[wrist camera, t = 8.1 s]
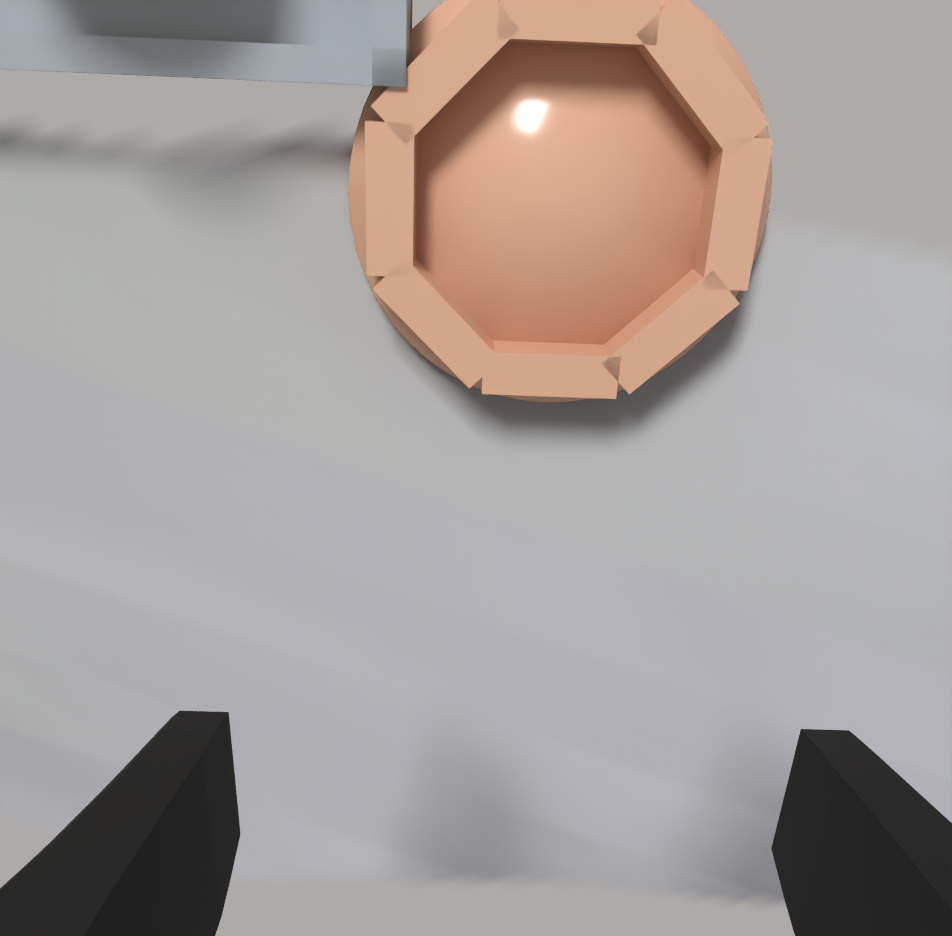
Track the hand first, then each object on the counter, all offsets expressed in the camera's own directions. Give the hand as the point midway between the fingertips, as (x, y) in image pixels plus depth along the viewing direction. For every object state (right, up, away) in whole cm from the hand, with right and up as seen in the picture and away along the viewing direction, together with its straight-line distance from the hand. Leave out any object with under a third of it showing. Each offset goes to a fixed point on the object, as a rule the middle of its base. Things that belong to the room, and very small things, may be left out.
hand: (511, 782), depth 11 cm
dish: (+1, +9, +7) cm, 12 cm away
